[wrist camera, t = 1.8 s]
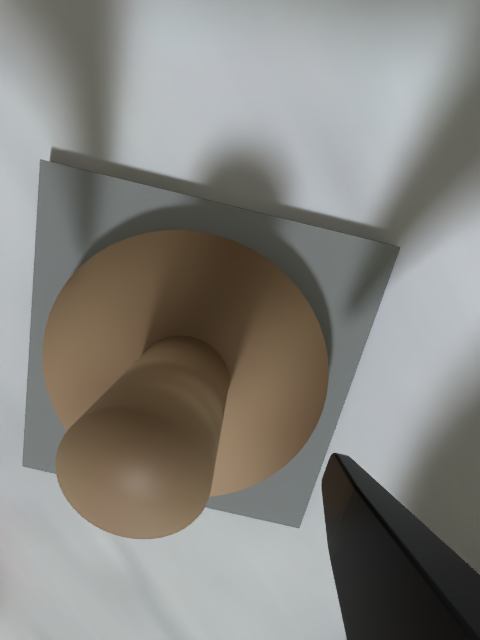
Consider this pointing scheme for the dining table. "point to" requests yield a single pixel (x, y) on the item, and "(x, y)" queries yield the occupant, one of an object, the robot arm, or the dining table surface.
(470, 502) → the dining table surface
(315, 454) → the mat
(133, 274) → the lid
